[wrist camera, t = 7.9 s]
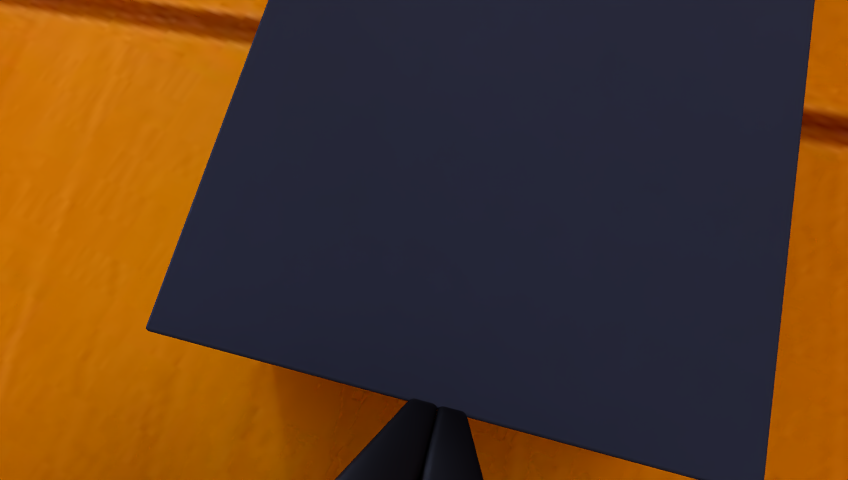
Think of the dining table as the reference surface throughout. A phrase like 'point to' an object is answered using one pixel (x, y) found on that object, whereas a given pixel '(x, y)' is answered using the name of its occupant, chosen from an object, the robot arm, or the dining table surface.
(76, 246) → the dining table surface
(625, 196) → the navy stepped block
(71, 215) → the dining table surface
